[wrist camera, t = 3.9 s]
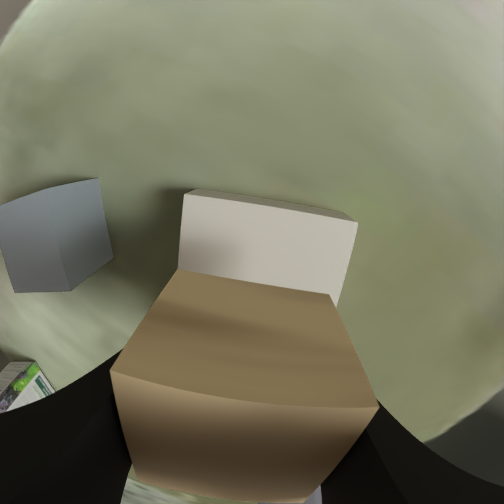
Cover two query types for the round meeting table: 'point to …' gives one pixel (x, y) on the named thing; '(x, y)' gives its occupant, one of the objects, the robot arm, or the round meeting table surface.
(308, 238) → the base block
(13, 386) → the syrup box
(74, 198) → the slate cube
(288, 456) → the maple cube
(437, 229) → the round meeting table surface
